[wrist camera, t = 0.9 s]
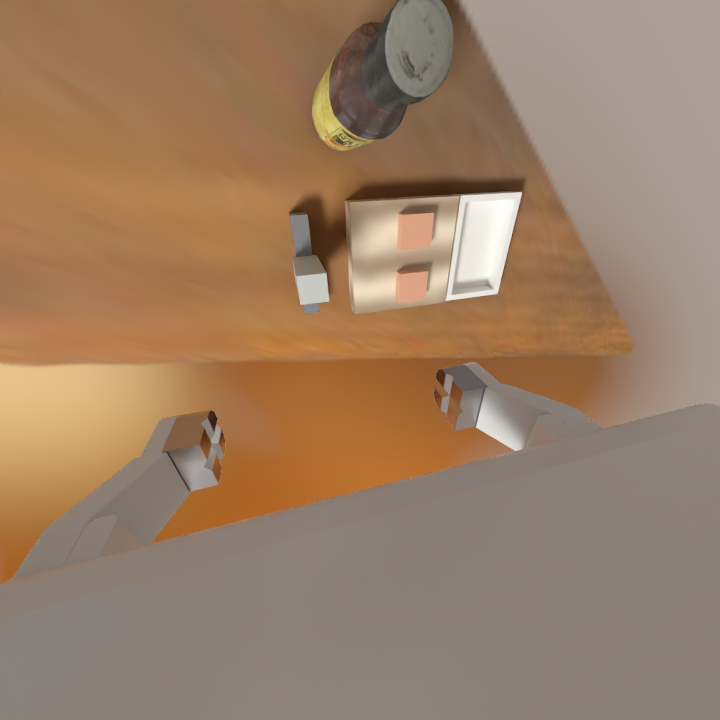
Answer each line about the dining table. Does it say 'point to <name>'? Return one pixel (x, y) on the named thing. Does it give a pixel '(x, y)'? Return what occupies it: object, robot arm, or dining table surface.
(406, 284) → the tile
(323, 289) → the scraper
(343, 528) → the robot arm
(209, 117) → the dining table surface
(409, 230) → the tile
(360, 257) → the birch board
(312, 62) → the dining table surface
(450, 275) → the tray
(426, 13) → the sauce bottle
